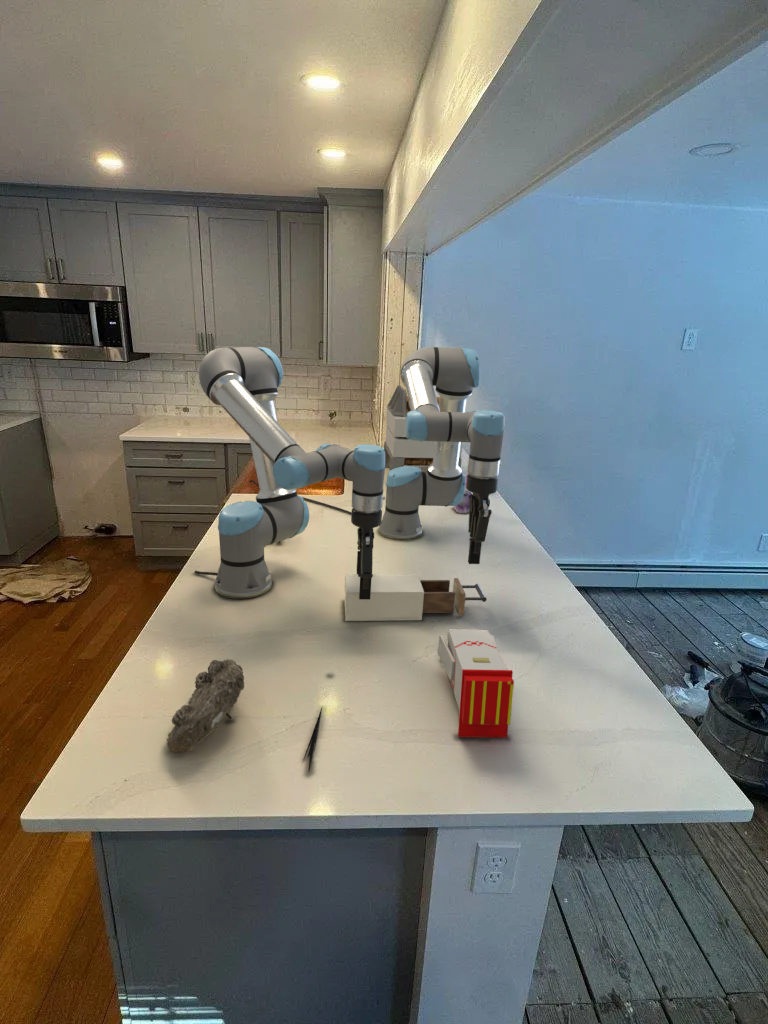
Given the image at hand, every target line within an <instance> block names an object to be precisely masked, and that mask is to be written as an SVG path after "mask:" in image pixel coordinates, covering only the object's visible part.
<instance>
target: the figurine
mask: <svg viewBox="0 0 768 1024" xmlns="http://www.w3.org/2000/svg"><path fill="white" fill-rule="evenodd" d="M468 475H469V473H468V472H467V474H466V475H465V480H466V482H465V491H464V495H463V498H462V500H461V502H460V503H459V504H458V505H456V506H453V509H454V511H455V512H456V513H458V514H467V513H468V514H469V495H473V493H472V492H470V491H468V490H467V488H466V484H467V476H468Z"/></svg>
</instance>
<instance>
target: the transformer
mask: <svg viewBox="0 0 768 1024" xmlns="http://www.w3.org/2000/svg"><path fill="white" fill-rule="evenodd" d="M436 399H437V402H438V406H439V399H440V396H436ZM409 411H411V409H410V404H409V399H408V394H407V389H404V388H403V387H402V385H399V384H398V385H397V386H396V388H395V390H394V392H393V394H392V395H391V398H390V400H389V402H388V404H387V405H386V413H385V414H386V415H385V423H386V428H385V438H384V442H383V449H384V451H385V464H386V467H388V468H389V471H391V470H392V469H395V468H398V467H404V466H413V467H428V466H429V465H430V464H432V463H433V456H434V446H435V441H423V442H420V441H414V440H409V439H408V438H407V437H406V429H405V427H406V416H407V413H408V412H409ZM463 443H464V442H461V446H460V453H459V461H458V466H459V467H460V468H461V469H462V461H463V460H462V453H463Z"/></svg>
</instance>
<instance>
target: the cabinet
mask: <svg viewBox="0 0 768 1024" xmlns="http://www.w3.org/2000/svg"><path fill="white" fill-rule="evenodd" d="M372 574H373V576H372V578H371V595H370V599H359V590H360V577H358V574H357V573H345V574H344V600H343V601H344V617H345V622H363V621H365V622H367V621H368V622H369V621H372V622H373V621H374V622H375V621H381V622H382V621H422V620H423V613H422V611H423V598H424V591H423V588H422V585H421V582H420V580H421V579H420V576H419V573H372Z"/></svg>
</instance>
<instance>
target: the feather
mask: <svg viewBox="0 0 768 1024" xmlns="http://www.w3.org/2000/svg"><path fill="white" fill-rule="evenodd" d="M329 675H330V676H331V675H332V674H331V673H330V674H329ZM322 710H323V707H321V708H320V710H319V713H318V716H317V719H316V723H315V725H314V728H313V731H312V733H311V737H310V739H309V742H308V745H307V748H306V751H305V754H304V757H303V760H302V763H301V767H302V765H303V763H304V761H305V758H308V759H309V760H308V762H307V763H308V764H307V766H308V771H310V770H311V766H312V765H311V764H312V760H313V757H315V756H314V755H315V751H316V749H315V746H317V739H318V733H319V729H320V722H321V717H322V712H323V711H322ZM313 754H314V755H313ZM306 755H307V757H306Z"/></svg>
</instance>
